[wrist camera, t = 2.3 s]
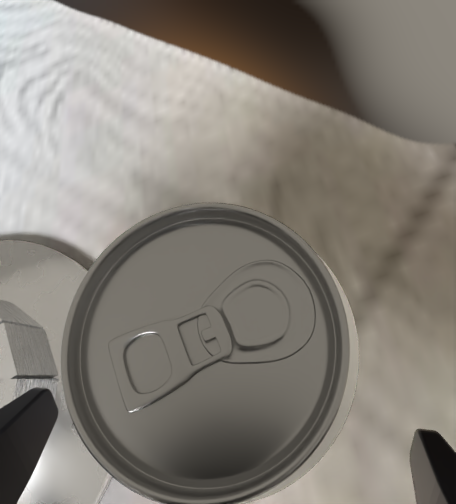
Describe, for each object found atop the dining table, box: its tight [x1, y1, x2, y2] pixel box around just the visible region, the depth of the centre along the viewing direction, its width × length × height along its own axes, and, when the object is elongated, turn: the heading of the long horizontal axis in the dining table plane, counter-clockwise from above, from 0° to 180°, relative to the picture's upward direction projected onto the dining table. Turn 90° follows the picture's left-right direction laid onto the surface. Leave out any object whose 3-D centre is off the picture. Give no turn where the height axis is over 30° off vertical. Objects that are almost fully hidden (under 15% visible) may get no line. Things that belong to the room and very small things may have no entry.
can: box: [61, 203, 359, 504], centre depth 12 cm, size 6×6×12 cm
